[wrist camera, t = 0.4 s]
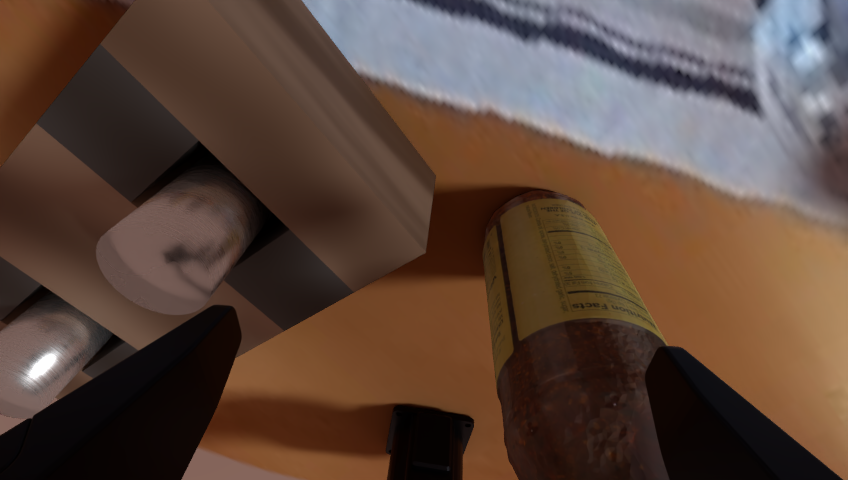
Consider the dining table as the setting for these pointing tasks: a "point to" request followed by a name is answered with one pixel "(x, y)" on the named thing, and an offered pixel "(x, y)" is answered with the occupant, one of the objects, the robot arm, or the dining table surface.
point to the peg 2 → (182, 239)
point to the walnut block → (234, 147)
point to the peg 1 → (44, 354)
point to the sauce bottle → (568, 345)
